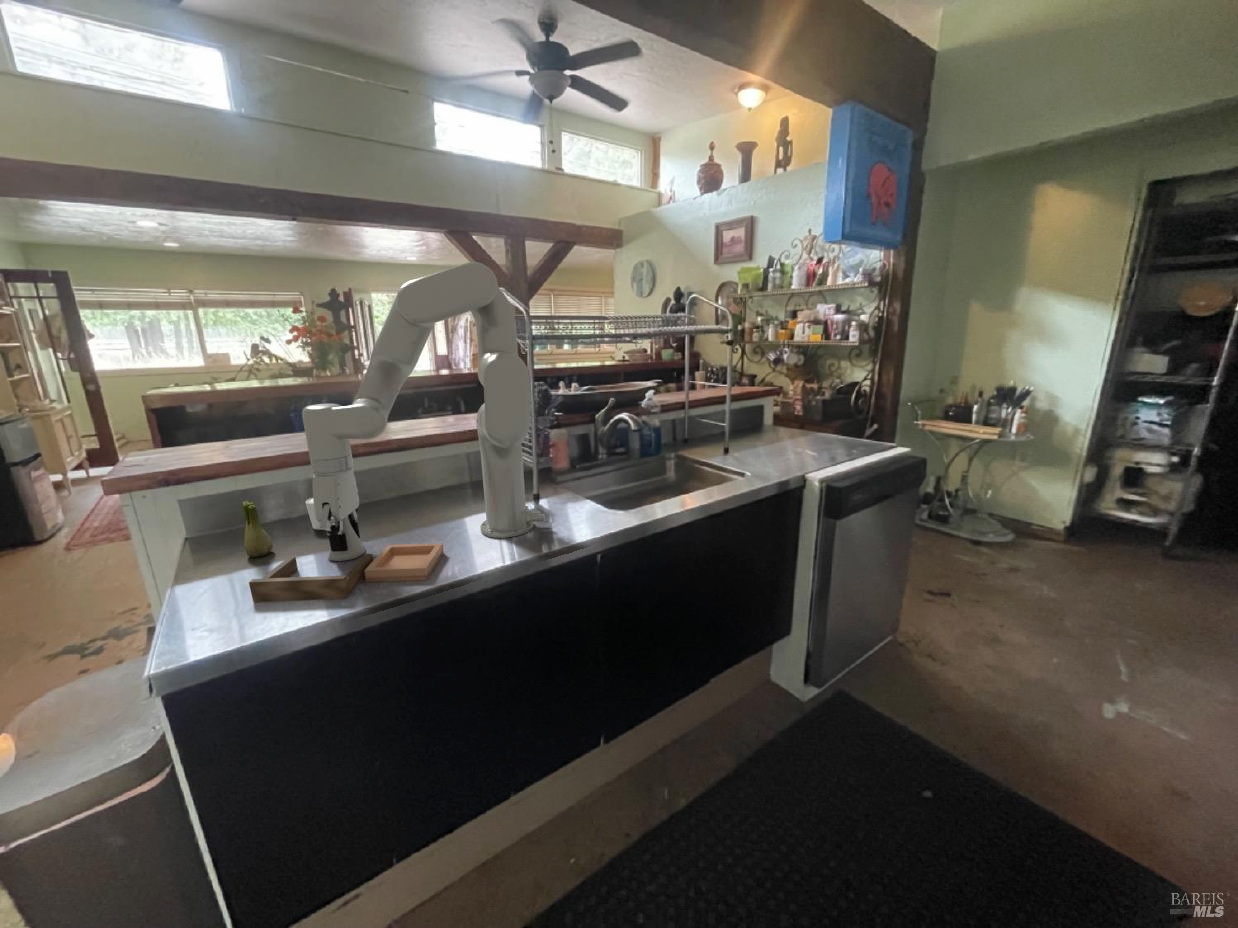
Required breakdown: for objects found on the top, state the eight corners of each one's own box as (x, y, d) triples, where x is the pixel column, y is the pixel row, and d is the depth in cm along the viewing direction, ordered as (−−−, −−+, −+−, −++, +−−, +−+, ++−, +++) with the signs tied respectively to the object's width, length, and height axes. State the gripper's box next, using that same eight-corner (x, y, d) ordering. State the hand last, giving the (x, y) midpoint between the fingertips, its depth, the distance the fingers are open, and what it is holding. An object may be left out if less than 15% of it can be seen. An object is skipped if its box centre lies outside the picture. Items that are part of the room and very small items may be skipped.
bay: (374, 567, 102) (371, 549, 101) (346, 598, 90) (343, 578, 89) (292, 570, 101) (288, 552, 100) (253, 602, 89) (248, 582, 88)
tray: (443, 553, 108) (442, 543, 107) (427, 579, 97) (425, 568, 96) (389, 555, 107) (387, 544, 107) (366, 582, 96) (364, 570, 95)
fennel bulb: (250, 551, 110) (239, 500, 107) (276, 547, 112) (266, 496, 109) (244, 561, 105) (231, 508, 102) (271, 557, 107) (260, 505, 104)
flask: (338, 548, 111) (330, 506, 108) (371, 547, 112) (364, 505, 109) (321, 563, 104) (313, 518, 101) (357, 561, 105) (350, 517, 102)
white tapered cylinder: (327, 531, 120) (322, 504, 119) (303, 529, 122) (298, 502, 120) (347, 521, 127) (343, 495, 125) (324, 519, 128) (320, 493, 126)
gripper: (334, 454, 110) (346, 530, 115) (289, 476, 94) (306, 563, 99) (368, 453, 111) (379, 529, 116) (330, 475, 94) (345, 562, 99)
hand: (346, 544), depth 107 cm, fingers closed on flask, 5 cm apart
